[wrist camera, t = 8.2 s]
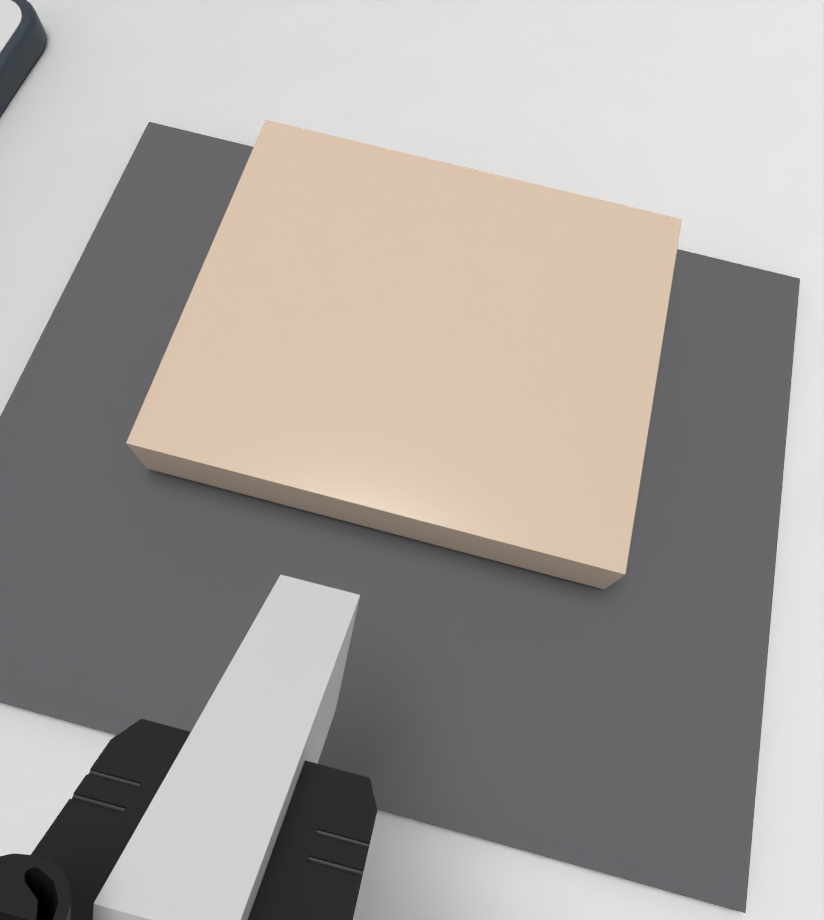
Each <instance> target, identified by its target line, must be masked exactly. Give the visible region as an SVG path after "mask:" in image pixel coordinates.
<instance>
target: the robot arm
mask: <svg viewBox="0 0 824 920" xmlns="http://www.w3.org/2000/svg"><path fill="white" fill-rule="evenodd" d="M359 598H360V595H358V594H354V593H351V592H347V591H343V590H339V589H335V588H331V587H327V586H323V585H319V584H316V583H312V582H308V581H304V580H300V579H296V578H292V577H288V576H285V575H280V576H279V578H278V580H277V582H276V583H275V585H274V587H273V589H272V590H271V592H270V594H269V596H268V597H267V599H266V601H265V603H264V605H263V606H262V608H261V610H260V612H259V613H258V615H257V617H256V619H255V620H254V622H253V624H252V626H251V627H250V629H249V631H248V633H247V634H246V636H245V638H244V640H243V641H242V643H241V645H240V647H239V649H238V650H237V652H236V654H235V656H234V657H233V659H232V661H231V663H230V664H229V666H228V668H227V670H226V671H225V673H224V675H223V677H222V678H221V680H220V682H219V684H218V685H217V687H216V689H215V691H214V693H213V694H212V696H211V698H210V700H209V701H208V703H207V705H206V707H205V708H204V710H203V712H202V714H201V715H200V717H199V719H198V721H197V722H196V724H195V726H194V728H193V729H192V731H191V732H190V731H186V730H182V729H179V728H175V727H171V726H168V725H164V724H160V723H156V722H153V721H149V720H145V719H142V718H141V719H140V720H138V721H137V722H135V723H134V724H133V725H131V726H130V727H128V728H127V729H125V730H124V731H123V732H121V733H120V734H118V735H117V736H115V737H114V738H113V739H111V740H110V742H109V743H108V744H107V746H106V747H105V749H104V750H103V752H102V753H101V755H100V756H99V757H98V759H97V760H96V762H95V763H94V765H93V766H92V768H91V770H90V773H89V774H88V775H86V776H85V778H84V779H83V780H82V782H81V783H80V785H79V786H78V788H77V789H76V791H75V792H74V795H73V797H72V799H69V801H68V802H67V804H66V805H65V806H64V808H63V809H62V811H61V812H60V814H59V815H58V816H57V818H56V819H55V821H54V822H53V824H52V825H51V827H50V828H49V829H48V831H47V832H46V834H45V835H44V837H43V838H42V840H41V841H40V842H39V844H38V845H37V847H36V848H35V850H34V851H33V852H32V854H31V855H24V854H9V855H5V856H0V920H353V915H354V911H355V906H356V902H357V897H358V893H359V889H360V884H361V880H362V875H363V871H364V866H365V862H366V857H367V853H368V848H369V844H370V840H371V835H372V831H373V826H374V822H375V817H376V813H377V806H376V802H375V798H374V793H373V789H372V785H371V780H370V778H369V777H365V776H362V775H358V774H354V773H350V772H347V771H343V770H339V769H335V768H332V767H328V766H324V765H321V764H318V761H319V758H320V755H321V752H322V749H323V746H324V743H325V740H326V737H327V734H328V731H329V728H330V725H331V722H332V719H333V716H334V713H335V710H336V706H337V701H338V696H339V692H340V687H341V682H342V678H343V673H344V668H345V664H346V659H347V654H348V650H349V645H350V640H351V635H352V631H353V626H354V621H355V617H356V612H357V607H358V603H359Z"/></svg>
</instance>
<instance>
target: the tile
mask: <svg viewBox="0 0 824 920" xmlns="http://www.w3.org/2000/svg"><path fill="white" fill-rule="evenodd" d="M681 221H682V219H678V218H674V217H670V216H666V215H661V214H657V213H653V212H649V211H645V210H640V209H636V208H632V207H628V206H624V205H620V204H615V203H611V202H607V201H603V200H599V199H594V198H590V197H586V196H582V195H578V194H573V193H569V192H565V191H561V190H557V189H553V188H548V187H544V186H540V185H536V184H532V183H527V182H523V181H519V180H515V179H511V178H507V177H502V176H498V175H494V174H490V173H486V172H481V171H477V170H473V169H469V168H465V167H461V166H456V165H452V164H448V163H444V162H440V161H435V160H431V159H427V158H423V157H419V156H415V155H410V154H406V153H402V152H398V151H394V150H389V149H385V148H381V147H377V146H373V145H368V144H364V143H360V142H356V141H352V140H348V139H343V138H339V137H335V136H331V135H327V134H322V133H318V132H314V131H310V130H306V129H302V128H297V127H293V126H289V125H285V124H281V123H276V122H272V121H268V120H265V122H264V125H263V127H262V129H261V132H260V134H259V136H258V139H257V141H256V143H255V146H254V148H253V150H252V152H251V155H250V157H249V159H248V162H247V164H246V166H245V169H244V171H243V173H242V176H241V178H240V180H239V183H238V185H237V187H236V190H235V192H234V194H233V196H232V199H231V201H230V203H229V206H228V208H227V210H226V213H225V215H224V217H223V220H222V222H221V224H220V227H219V229H218V231H217V234H216V236H215V238H214V241H213V243H212V245H211V247H210V250H209V252H208V254H207V257H206V259H205V261H204V264H203V266H202V268H201V271H200V273H199V275H198V278H197V280H196V282H195V285H194V287H193V289H192V292H191V294H190V296H189V298H188V301H187V303H186V305H185V308H184V310H183V312H182V315H181V317H180V319H179V322H178V324H177V326H176V329H175V331H174V333H173V336H172V338H171V340H170V342H169V345H168V347H167V349H166V352H165V354H164V356H163V359H162V361H161V363H160V366H159V368H158V370H157V373H156V375H155V377H154V380H153V382H152V384H151V387H150V389H149V391H148V393H147V396H146V398H145V400H144V403H143V405H142V407H141V410H140V412H139V414H138V417H137V419H136V421H135V424H134V426H133V428H132V431H131V433H130V435H129V438H128V440H127V442H126V444H127V445H128V446H129V447H130V449H131V450H132V451H133V452H134V454H135V455H136V456H137V457H138V459H139V460H140V461H141V462H142V464H143V465H144V466H145V467H146V468H147V469H150V470H154V471H158V472H162V473H165V474H169V475H173V476H177V477H181V478H184V479H188V480H192V481H196V482H199V483H203V484H207V485H211V486H215V487H218V488H222V489H226V490H230V491H234V492H237V493H241V494H245V495H249V496H252V497H256V498H260V499H264V500H268V501H271V502H275V503H279V504H283V505H286V506H290V507H294V508H298V509H302V510H305V511H309V512H313V513H317V514H321V515H324V516H328V517H332V518H336V519H339V520H343V521H347V522H351V523H355V524H358V525H362V526H366V527H370V528H373V529H377V530H381V531H385V532H389V533H392V534H396V535H400V536H404V537H408V538H411V539H415V540H419V541H423V542H426V543H430V544H434V545H438V546H442V547H445V548H449V549H453V550H457V551H460V552H464V553H468V554H472V555H476V556H479V557H483V558H487V559H491V560H495V561H498V562H502V563H506V564H510V565H513V566H517V567H521V568H525V569H529V570H532V571H536V572H540V573H544V574H547V575H551V576H555V577H559V578H563V579H566V580H570V581H574V582H578V583H582V584H585V585H589V586H593V587H597V588H600V589H606V588H607V587H609V586H610V585H611V584H613V583H614V582H616V581H617V580H618V579H620V578H621V577H622V576H624V575H625V573H626V567H627V561H628V555H629V548H630V542H631V536H632V529H633V523H634V517H635V511H636V504H637V498H638V492H639V485H640V479H641V473H642V467H643V460H644V454H645V448H646V441H647V435H648V429H649V423H650V416H651V410H652V404H653V397H654V391H655V385H656V379H657V372H658V366H659V360H660V353H661V347H662V341H663V335H664V328H665V322H666V316H667V309H668V303H669V297H670V291H671V284H672V278H673V272H674V265H675V259H676V253H677V247H678V240H679V234H680V228H681Z"/></svg>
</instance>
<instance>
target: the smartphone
mask: <svg viewBox="0 0 824 920" xmlns="http://www.w3.org/2000/svg"><path fill="white" fill-rule="evenodd" d="M45 43H46V34H45V31H44V28H43V26H42V24H41V22H40V20H39V17H38V15H37V13H36V11H35V10H34V8H33V6H32V5H31V4H30V3H29V2H28V1H27V0H0V116H1V114H2V113H3V111H4V110H5V108H6V107H7V105H8V104H9V102H10V100H11V99H12V97H13V96H14V94H15V93H16V91H17V90H18V88H19V87H20V85H21V84H22V82H23V81H24V79H25V77H26V76H27V74H28V73H29V71H30V70H31V68H32V67H33V65H34V64H35V62H36V60H37V59H38V57H39V56H40V54H41V53H42V51H43V49H44V47H45Z"/></svg>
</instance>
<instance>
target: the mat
mask: <svg viewBox="0 0 824 920" xmlns="http://www.w3.org/2000/svg"><path fill="white" fill-rule="evenodd" d="M253 148H254V147H251V146H247V145H243V144H239V143H235V142H230V141H226V140H222V139H218V138H214V137H210V136H206V135H201V134H197V133H193V132H189V131H185V130H181V129H176V128H172V127H168V126H164V125H160V124H156V123H152V122H149V123H148V125H147V127H146V129H145V131H144V133H143V135H142V137H141V139H140V141H139V143H138V145H137V147H136V149H135V151H134V153H133V155H132V157H131V159H130V161H129V163H128V165H127V167H126V169H125V170H124V172H123V174H122V176H121V178H120V180H119V182H118V184H117V186H116V188H115V190H114V192H113V194H112V196H111V198H110V200H109V202H108V204H107V206H106V208H105V210H104V212H103V214H102V216H101V218H100V220H99V222H98V224H97V226H96V228H95V230H94V232H93V234H92V236H91V238H90V240H89V242H88V244H87V246H86V248H85V250H84V252H83V254H82V256H81V258H80V260H79V262H78V264H77V266H76V268H75V270H74V272H73V274H72V276H71V278H70V280H69V282H68V284H67V285H66V287H65V289H64V291H63V293H62V295H61V297H60V299H59V301H58V303H57V305H56V307H55V309H54V311H53V313H52V315H51V317H50V319H49V321H48V323H47V325H46V327H45V329H44V331H43V333H42V335H41V337H40V339H39V341H38V343H37V345H36V347H35V349H34V351H33V353H32V355H31V357H30V359H29V361H28V363H27V365H26V367H25V369H24V371H23V373H22V375H21V377H20V379H19V381H18V383H17V385H16V387H15V389H14V391H13V393H12V395H11V397H10V399H9V400H8V402H7V404H6V406H5V408H4V410H3V412H2V414H1V416H0V702H1V703H5V704H8V705H12V706H15V707H19V708H23V709H26V710H30V711H33V712H37V713H40V714H44V715H47V716H51V717H54V718H58V719H61V720H65V721H68V722H72V723H76V724H79V725H83V726H86V727H90V728H93V729H97V730H100V731H104V732H107V733H111V734H114V735H118V734H120V733H121V732H123V731H124V730H125V729H127V728H128V727H130V726H131V725H133V724H134V723H135V722H137V721H138V720H140V719H141V718H142V719H145V720H149V721H153V722H156V723H160V724H164V725H168V726H171V727H175V728H179V729H182V730H186V731H190V732H191V731H192V729H193V728H194V726H195V724H196V722H197V721H198V719H199V717H200V715H201V714H202V712H203V710H204V708H205V707H206V705H207V703H208V701H209V700H210V698H211V696H212V694H213V693H214V691H215V689H216V687H217V685H218V684H219V682H220V680H221V678H222V677H223V675H224V673H225V671H226V670H227V668H228V666H229V664H230V663H231V661H232V659H233V657H234V656H235V654H236V652H237V650H238V649H239V647H240V645H241V643H242V641H243V640H244V638H245V636H246V634H247V633H248V631H249V629H250V627H251V626H252V624H253V622H254V620H255V619H256V617H257V615H258V613H259V612H260V610H261V608H262V606H263V605H264V603H265V601H266V599H267V597H268V596H269V594H270V592H271V590H272V589H273V587H274V585H275V583H276V582H277V580H278V578H279V576H280V575H285V576H288V577H292V578H296V579H300V580H304V581H308V582H312V583H316V584H319V585H323V586H327V587H331V588H335V589H339V590H343V591H347V592H351V593H354V594H358V595H360V598H359V603H358V607H357V612H356V617H355V621H354V626H353V631H352V635H351V640H350V645H349V650H348V654H347V659H346V664H345V668H344V673H343V678H342V682H341V687H340V692H339V696H338V701H337V706H336V710H335V713H334V716H333V719H332V722H331V725H330V728H329V731H328V734H327V737H326V740H325V743H324V746H323V749H322V752H321V755H320V758H319V761H318V764H321V765H324V766H328V767H332V768H335V769H339V770H343V771H347V772H350V773H354V774H358V775H362V776H365V777H369V778H370V780H371V785H372V789H373V793H374V798H375V802H376V806H377V809H380V810H383V811H387V812H390V813H394V814H397V815H401V816H404V817H408V818H411V819H415V820H419V821H422V822H426V823H429V824H433V825H436V826H440V827H443V828H447V829H450V830H454V831H457V832H461V833H464V834H468V835H472V836H475V837H479V838H482V839H486V840H489V841H493V842H496V843H500V844H503V845H507V846H510V847H514V848H518V849H521V850H525V851H528V852H532V853H535V854H539V855H542V856H546V857H549V858H553V859H556V860H560V861H563V862H567V863H571V864H574V865H578V866H581V867H585V868H588V869H592V870H595V871H599V872H602V873H606V874H609V875H613V876H617V877H620V878H624V879H627V880H631V881H634V882H638V883H641V884H645V885H648V886H652V887H655V888H659V889H662V890H666V891H670V892H673V893H677V894H680V895H684V896H687V897H691V898H694V899H698V900H701V901H705V902H708V903H712V904H716V905H719V906H723V907H726V908H730V909H733V910H737V911H740V912H744V913H745V911H746V900H747V888H748V876H749V865H750V853H751V842H752V830H753V818H754V807H755V795H756V783H757V772H758V760H759V749H760V737H761V725H762V714H763V702H764V690H765V679H766V667H767V655H768V644H769V632H770V621H771V609H772V597H773V586H774V574H775V562H776V551H777V539H778V528H779V516H780V504H781V493H782V481H783V469H784V458H785V446H786V435H787V423H788V411H789V400H790V388H791V376H792V365H793V353H794V341H795V330H796V318H797V307H798V295H799V283H800V279H799V278H795V277H790V276H786V275H782V274H778V273H774V272H770V271H766V270H761V269H757V268H753V267H749V266H745V265H741V264H737V263H732V262H728V261H724V260H720V259H716V258H712V257H707V256H703V255H699V254H695V253H691V252H687V251H683V250H678V249H677V253H676V259H675V265H674V272H673V278H672V284H671V291H670V297H669V303H668V309H667V316H666V322H665V328H664V335H663V341H662V347H661V353H660V360H659V366H658V372H657V379H656V385H655V391H654V397H653V404H652V410H651V416H650V423H649V429H648V435H647V441H646V448H645V454H644V460H643V467H642V473H641V479H640V485H639V492H638V498H637V504H636V511H635V517H634V523H633V529H632V536H631V542H630V548H629V555H628V561H627V567H626V573H625V575H624V576H622V577H621V578H620V579H618V580H617V581H616V582H614V583H613V584H611V585H610V586H609V587H607V588H606V589H600V588H597V587H593V586H589V585H585V584H582V583H578V582H574V581H570V580H566V579H563V578H559V577H555V576H551V575H547V574H544V573H540V572H536V571H532V570H529V569H525V568H521V567H517V566H513V565H510V564H506V563H502V562H498V561H495V560H491V559H487V558H483V557H479V556H476V555H472V554H468V553H464V552H460V551H457V550H453V549H449V548H445V547H442V546H438V545H434V544H430V543H426V542H423V541H419V540H415V539H411V538H408V537H404V536H400V535H396V534H392V533H389V532H385V531H381V530H377V529H373V528H370V527H366V526H362V525H358V524H355V523H351V522H347V521H343V520H339V519H336V518H332V517H328V516H324V515H321V514H317V513H313V512H309V511H305V510H302V509H298V508H294V507H290V506H286V505H283V504H279V503H275V502H271V501H268V500H264V499H260V498H256V497H252V496H249V495H245V494H241V493H237V492H234V491H230V490H226V489H222V488H218V487H215V486H211V485H207V484H203V483H199V482H196V481H192V480H188V479H184V478H181V477H177V476H173V475H169V474H165V473H162V472H158V471H154V470H150V469H147V468H146V467H145V466H144V465H143V464H142V462H141V461H140V460H139V459H138V457H137V456H136V455H135V454H134V452H133V451H132V450H131V449H130V447H129V446H128V445H127V444H126V442H127V440H128V438H129V435H130V433H131V431H132V428H133V426H134V424H135V421H136V419H137V417H138V414H139V412H140V410H141V407H142V405H143V403H144V400H145V398H146V396H147V393H148V391H149V389H150V387H151V384H152V382H153V380H154V377H155V375H156V373H157V370H158V368H159V366H160V363H161V361H162V359H163V356H164V354H165V352H166V349H167V347H168V345H169V342H170V340H171V338H172V336H173V333H174V331H175V329H176V326H177V324H178V322H179V319H180V317H181V315H182V312H183V310H184V308H185V305H186V303H187V301H188V298H189V296H190V294H191V292H192V289H193V287H194V285H195V282H196V280H197V278H198V275H199V273H200V271H201V268H202V266H203V264H204V261H205V259H206V257H207V254H208V252H209V250H210V247H211V245H212V243H213V241H214V238H215V236H216V234H217V231H218V229H219V227H220V224H221V222H222V220H223V217H224V215H225V213H226V210H227V208H228V206H229V203H230V201H231V199H232V196H233V194H234V192H235V190H236V187H237V185H238V183H239V180H240V178H241V176H242V173H243V171H244V169H245V166H246V164H247V162H248V159H249V157H250V155H251V152H252V150H253Z"/></svg>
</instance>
